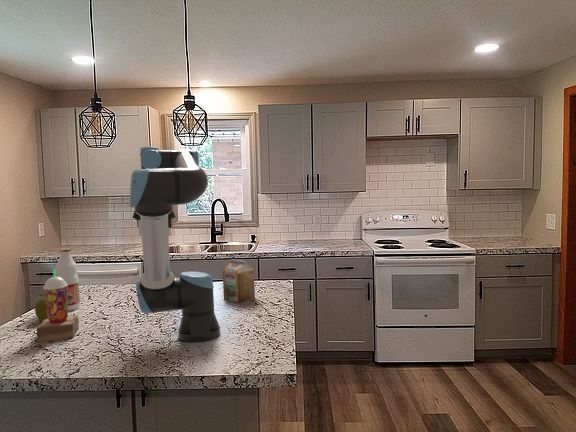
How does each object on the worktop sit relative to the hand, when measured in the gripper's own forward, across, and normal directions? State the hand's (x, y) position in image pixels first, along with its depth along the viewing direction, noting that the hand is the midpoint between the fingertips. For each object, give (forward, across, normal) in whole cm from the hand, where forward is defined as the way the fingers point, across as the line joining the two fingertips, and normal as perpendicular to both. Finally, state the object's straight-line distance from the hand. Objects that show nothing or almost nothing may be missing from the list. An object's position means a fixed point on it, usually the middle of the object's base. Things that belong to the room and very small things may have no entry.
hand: (154, 235), depth 187 cm
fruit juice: (+35, +50, +3) cm, 61 cm away
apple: (+35, +43, +19) cm, 58 cm away
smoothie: (+30, +22, +31) cm, 48 cm away
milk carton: (+35, -19, -34) cm, 53 cm away
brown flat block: (+35, +23, +31) cm, 52 cm away
